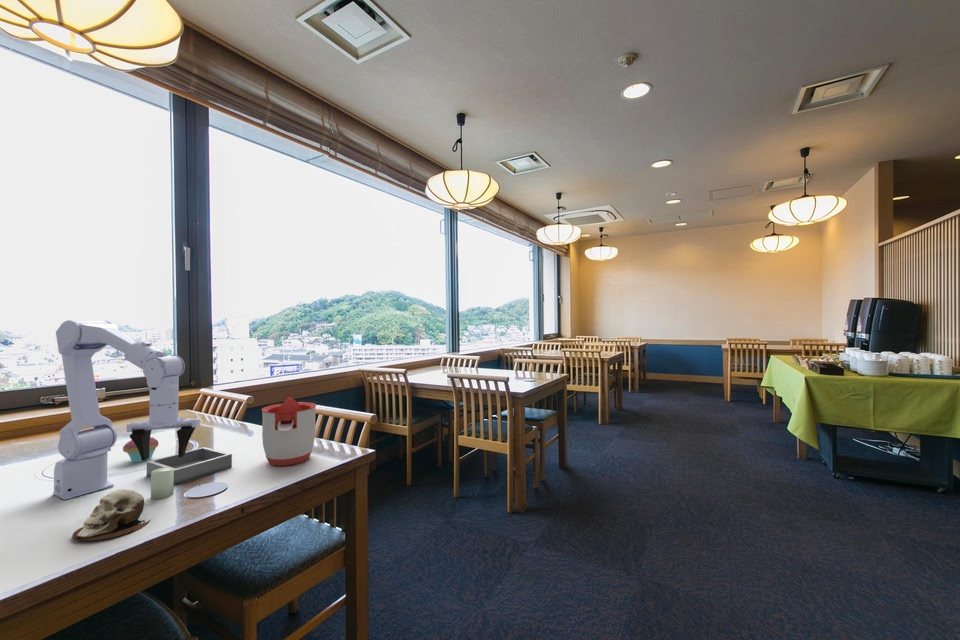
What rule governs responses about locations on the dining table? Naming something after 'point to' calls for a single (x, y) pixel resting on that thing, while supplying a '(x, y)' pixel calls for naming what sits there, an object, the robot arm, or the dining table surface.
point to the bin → (193, 464)
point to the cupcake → (134, 452)
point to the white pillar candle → (162, 483)
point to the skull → (113, 516)
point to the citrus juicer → (288, 431)
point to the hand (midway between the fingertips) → (163, 457)
